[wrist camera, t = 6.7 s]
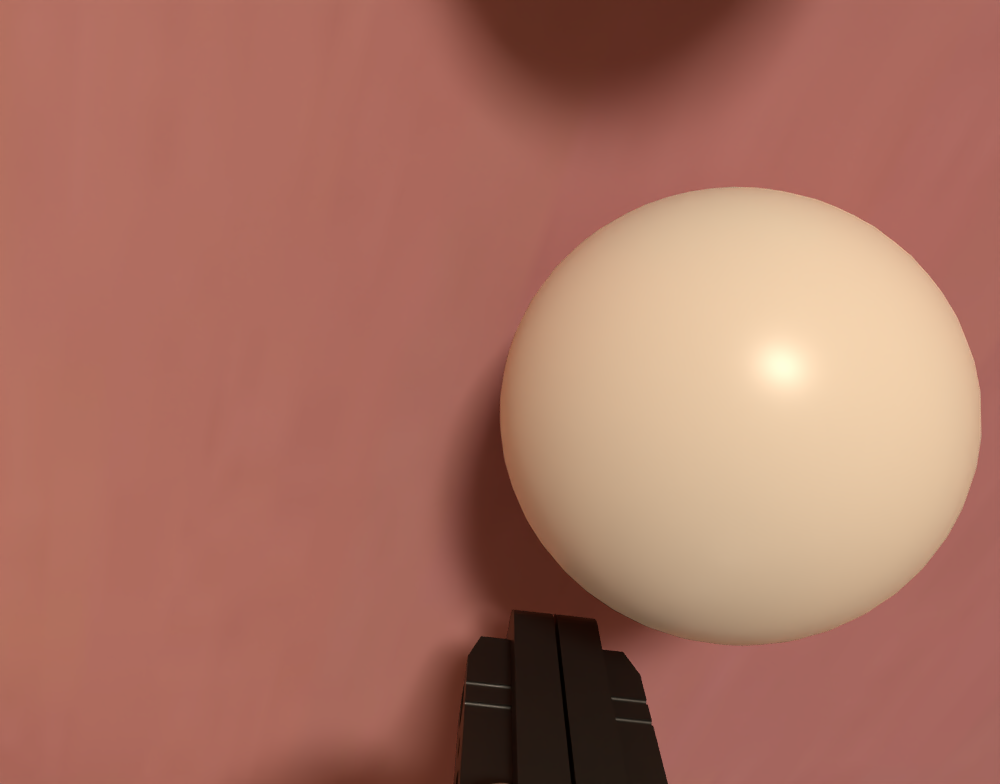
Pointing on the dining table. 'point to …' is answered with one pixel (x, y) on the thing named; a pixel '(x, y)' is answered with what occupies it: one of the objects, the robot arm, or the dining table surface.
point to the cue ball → (740, 416)
